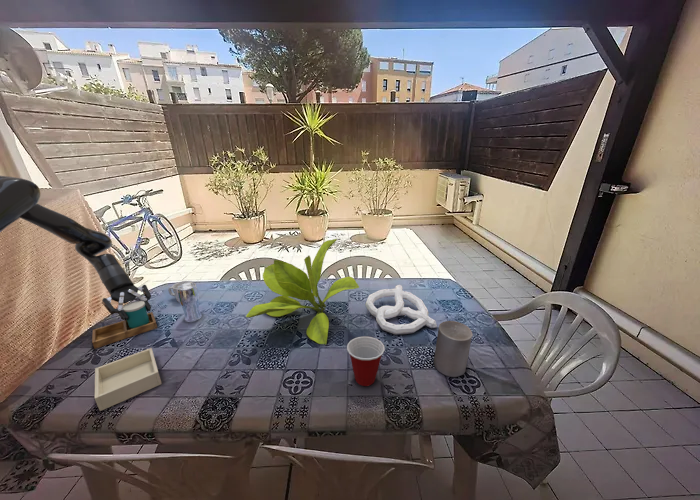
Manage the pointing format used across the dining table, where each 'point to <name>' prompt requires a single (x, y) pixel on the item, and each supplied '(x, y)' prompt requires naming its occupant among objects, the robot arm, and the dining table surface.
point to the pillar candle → (452, 348)
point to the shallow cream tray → (125, 378)
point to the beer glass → (189, 301)
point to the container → (136, 314)
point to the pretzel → (399, 311)
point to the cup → (176, 289)
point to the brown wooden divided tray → (119, 332)
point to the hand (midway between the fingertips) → (138, 314)
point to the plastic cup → (365, 358)
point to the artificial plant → (301, 291)
